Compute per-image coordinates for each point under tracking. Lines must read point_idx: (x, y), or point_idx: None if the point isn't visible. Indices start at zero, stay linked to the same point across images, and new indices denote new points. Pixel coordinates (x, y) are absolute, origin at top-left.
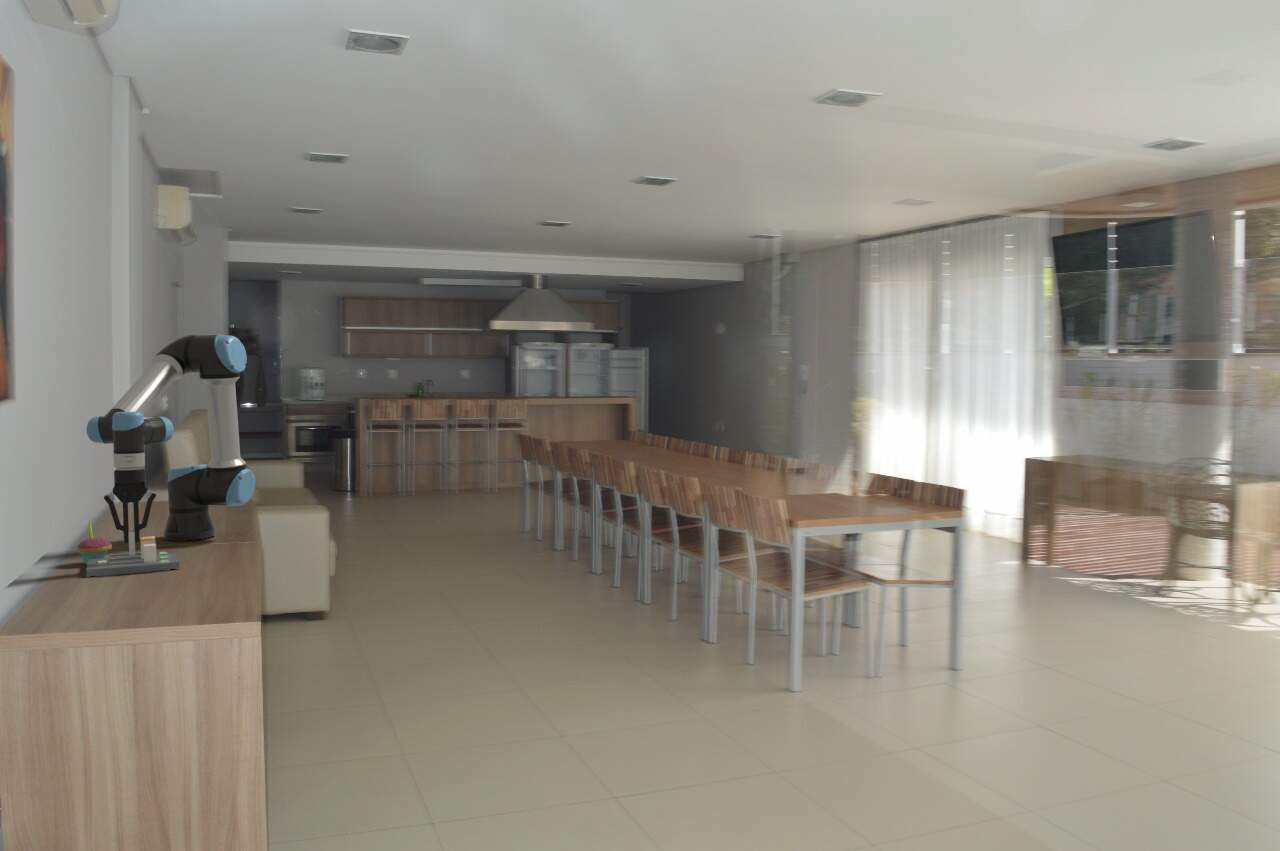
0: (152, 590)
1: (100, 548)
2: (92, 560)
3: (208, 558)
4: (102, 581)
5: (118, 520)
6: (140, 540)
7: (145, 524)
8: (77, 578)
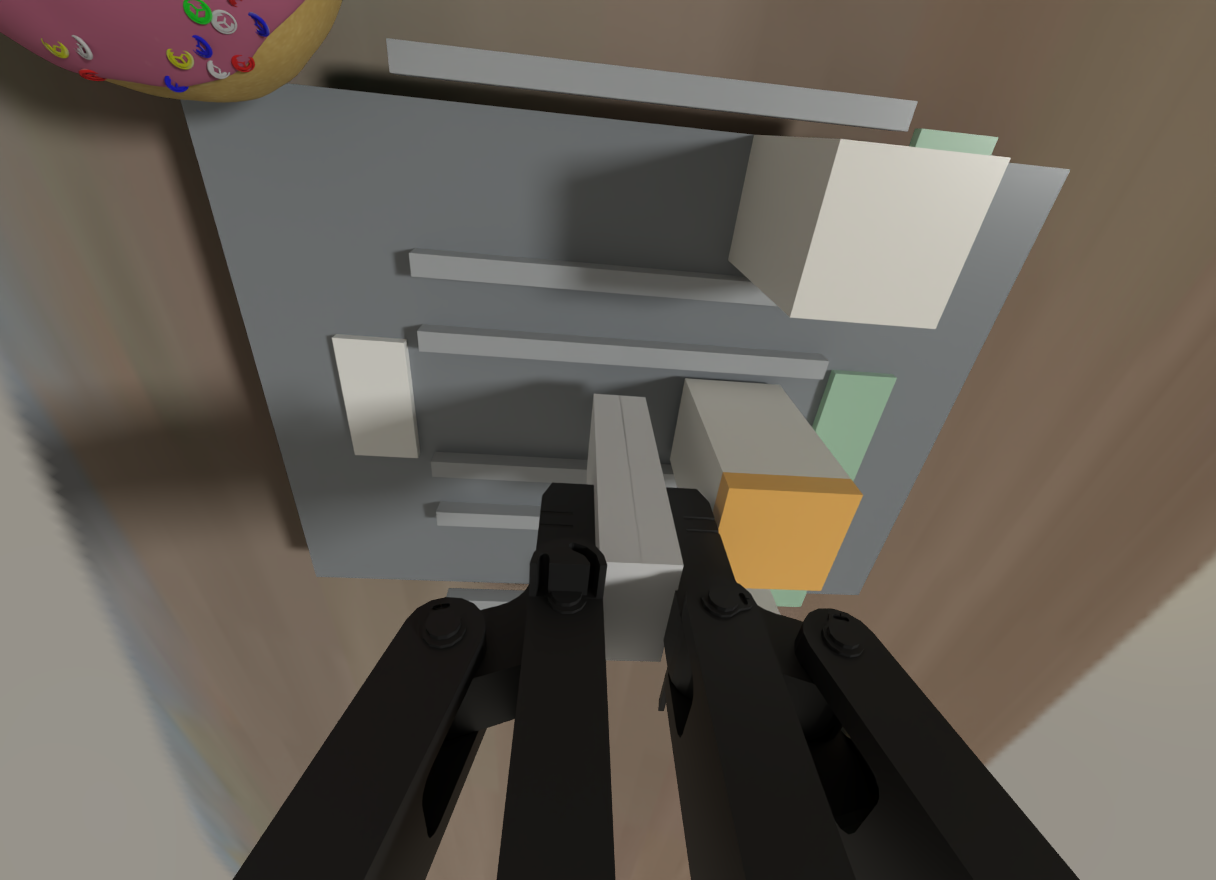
0: (627, 813)
1: (244, 84)
2: (253, 210)
3: (1187, 292)
4: None
5: (427, 860)
6: (718, 481)
7: (824, 745)
8: (289, 542)
